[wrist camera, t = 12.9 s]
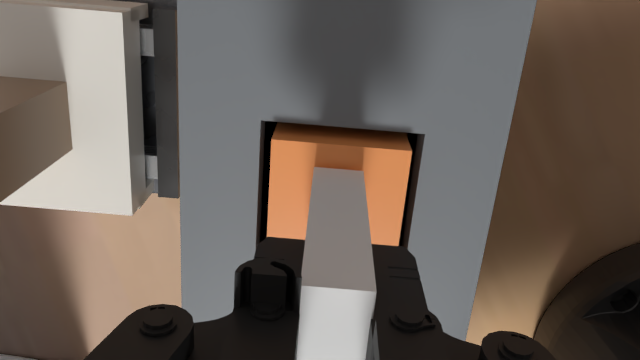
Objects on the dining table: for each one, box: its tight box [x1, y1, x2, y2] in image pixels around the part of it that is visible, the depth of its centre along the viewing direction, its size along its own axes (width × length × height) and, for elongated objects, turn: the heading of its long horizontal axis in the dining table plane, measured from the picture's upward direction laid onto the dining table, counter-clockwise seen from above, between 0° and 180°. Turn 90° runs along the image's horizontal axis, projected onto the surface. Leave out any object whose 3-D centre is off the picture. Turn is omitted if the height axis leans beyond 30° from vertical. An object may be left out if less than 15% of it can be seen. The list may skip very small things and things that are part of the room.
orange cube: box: [267, 122, 412, 246], centre depth 20 cm, size 4×4×4 cm
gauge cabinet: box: [177, 0, 537, 341], centre depth 24 cm, size 10×14×12 cm
